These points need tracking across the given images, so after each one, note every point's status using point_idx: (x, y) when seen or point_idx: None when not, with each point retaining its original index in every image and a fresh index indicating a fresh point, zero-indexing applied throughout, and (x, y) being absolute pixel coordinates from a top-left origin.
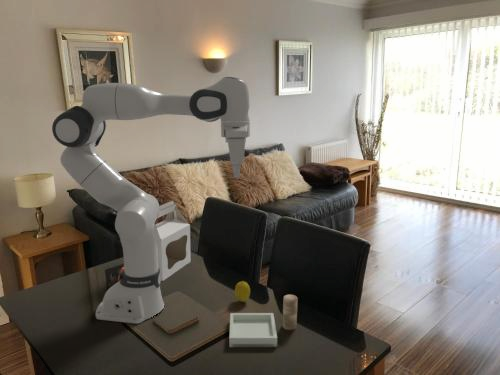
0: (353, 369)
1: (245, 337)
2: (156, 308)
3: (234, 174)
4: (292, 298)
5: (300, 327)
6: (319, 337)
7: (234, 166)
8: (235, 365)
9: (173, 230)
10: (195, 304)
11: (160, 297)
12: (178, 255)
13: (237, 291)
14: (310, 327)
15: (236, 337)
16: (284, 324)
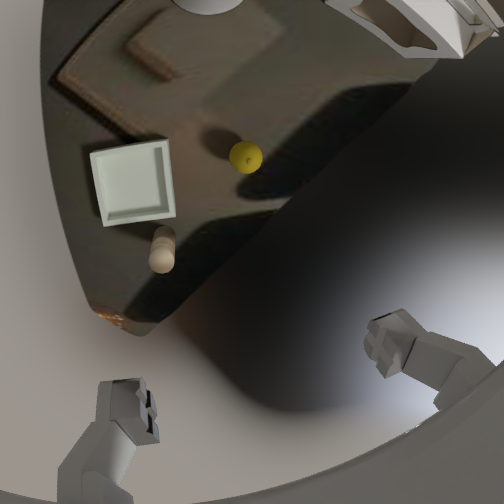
0: (90, 304)
1: (95, 178)
2: (186, 3)
3: (99, 404)
4: (159, 265)
5: None
6: (143, 275)
7: (64, 476)
8: (58, 168)
9: (426, 13)
10: (229, 65)
11: (207, 2)
12: (417, 37)
13: (234, 148)
14: None
15: (92, 164)
16: (156, 231)
